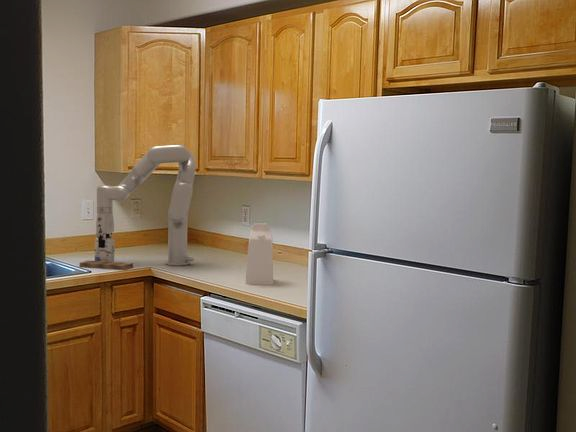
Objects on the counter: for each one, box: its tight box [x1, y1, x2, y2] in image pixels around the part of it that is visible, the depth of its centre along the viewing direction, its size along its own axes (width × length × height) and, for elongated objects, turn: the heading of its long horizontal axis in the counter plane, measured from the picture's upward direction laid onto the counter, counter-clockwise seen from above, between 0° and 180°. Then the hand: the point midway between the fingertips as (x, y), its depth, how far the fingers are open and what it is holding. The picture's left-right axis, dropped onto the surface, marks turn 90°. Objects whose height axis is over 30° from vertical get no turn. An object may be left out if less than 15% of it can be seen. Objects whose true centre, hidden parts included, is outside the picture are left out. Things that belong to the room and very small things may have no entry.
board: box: [79, 259, 134, 271], centre depth 293 cm, size 24×8×2 cm, turn 78°
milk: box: [245, 222, 274, 286], centre depth 267 cm, size 12×12×26 cm
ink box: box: [94, 237, 116, 262], centre depth 300 cm, size 9×5×12 cm, turn 73°
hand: (104, 246), depth 300 cm, fingers closed on ink box, 5 cm apart
